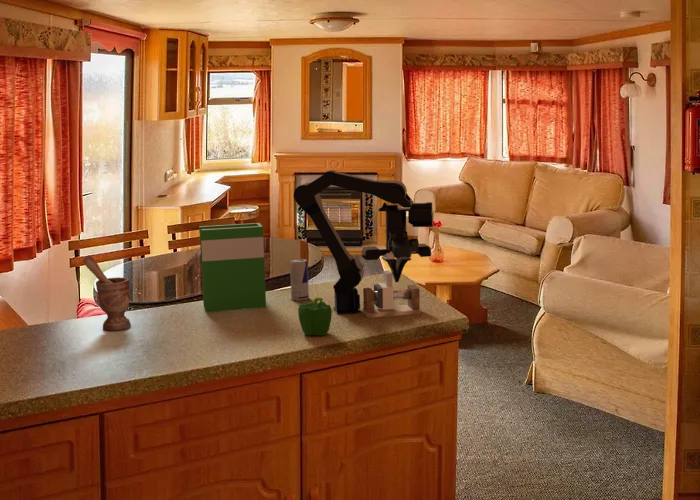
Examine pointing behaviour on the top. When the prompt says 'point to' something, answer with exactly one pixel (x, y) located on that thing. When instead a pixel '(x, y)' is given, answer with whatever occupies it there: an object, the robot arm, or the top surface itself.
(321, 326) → the bell pepper
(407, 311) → the pipe stand
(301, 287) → the energy drink
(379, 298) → the dark flat slab
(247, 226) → the hardback book
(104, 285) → the mortar and pestle
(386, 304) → the beige boxy piece
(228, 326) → the top surface
